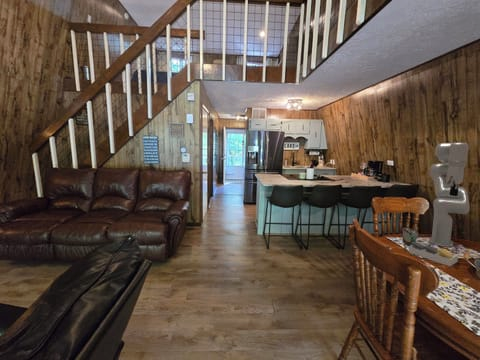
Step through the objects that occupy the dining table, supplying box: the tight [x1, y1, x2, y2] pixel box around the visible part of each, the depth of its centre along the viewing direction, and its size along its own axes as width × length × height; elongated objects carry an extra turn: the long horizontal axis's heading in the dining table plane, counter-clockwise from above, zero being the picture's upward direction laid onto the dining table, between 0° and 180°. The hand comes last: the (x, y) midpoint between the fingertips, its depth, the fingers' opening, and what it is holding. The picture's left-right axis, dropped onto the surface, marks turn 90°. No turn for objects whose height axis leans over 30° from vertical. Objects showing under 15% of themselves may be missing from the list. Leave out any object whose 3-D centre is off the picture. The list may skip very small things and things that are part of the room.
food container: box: [402, 227, 419, 247], centre depth 151 cm, size 12×6×10 cm, turn 168°
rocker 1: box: [411, 241, 425, 249], centre depth 138 cm, size 4×6×2 cm
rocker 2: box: [423, 244, 439, 254], centre depth 132 cm, size 4×6×2 cm
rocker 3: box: [437, 248, 453, 259], centre depth 126 cm, size 4×6×2 cm
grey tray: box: [408, 246, 459, 267], centre depth 134 cm, size 10×20×4 cm, turn 30°
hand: (453, 195), depth 131 cm, fingers closed
